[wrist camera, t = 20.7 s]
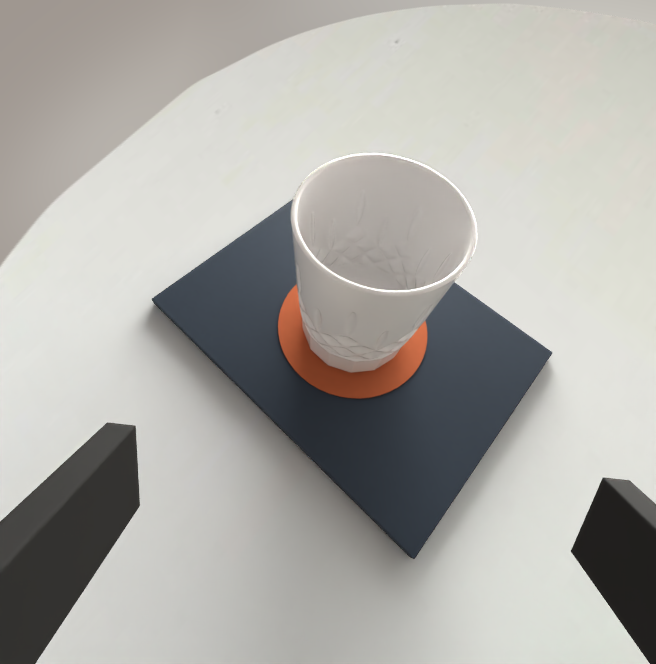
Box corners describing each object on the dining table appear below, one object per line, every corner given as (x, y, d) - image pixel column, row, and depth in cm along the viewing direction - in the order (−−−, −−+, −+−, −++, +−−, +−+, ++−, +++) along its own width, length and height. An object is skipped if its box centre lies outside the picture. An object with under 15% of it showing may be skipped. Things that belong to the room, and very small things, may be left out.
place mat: (154, 303, 25) (150, 298, 24) (315, 188, 31) (316, 181, 30) (411, 558, 19) (414, 559, 18) (547, 355, 25) (554, 351, 24)
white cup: (278, 293, 25) (267, 170, 16) (382, 265, 27) (424, 140, 18) (317, 399, 22) (331, 320, 13) (432, 360, 23) (514, 265, 14)
